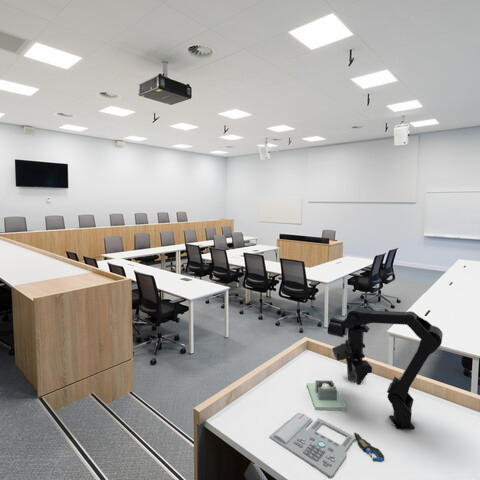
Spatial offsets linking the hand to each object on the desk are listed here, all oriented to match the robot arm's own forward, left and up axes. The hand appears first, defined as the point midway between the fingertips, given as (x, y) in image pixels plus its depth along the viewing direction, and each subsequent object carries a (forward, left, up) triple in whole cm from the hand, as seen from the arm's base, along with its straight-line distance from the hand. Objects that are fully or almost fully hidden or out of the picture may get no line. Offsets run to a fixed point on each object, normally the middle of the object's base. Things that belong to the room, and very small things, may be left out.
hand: (354, 377), depth 125 cm
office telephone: (-18, +20, -12) cm, 30 cm away
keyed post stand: (+5, +10, -12) cm, 16 cm away
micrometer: (-22, +3, -12) cm, 25 cm away
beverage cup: (+18, -6, -12) cm, 22 cm away
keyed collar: (+5, +10, -10) cm, 15 cm away
